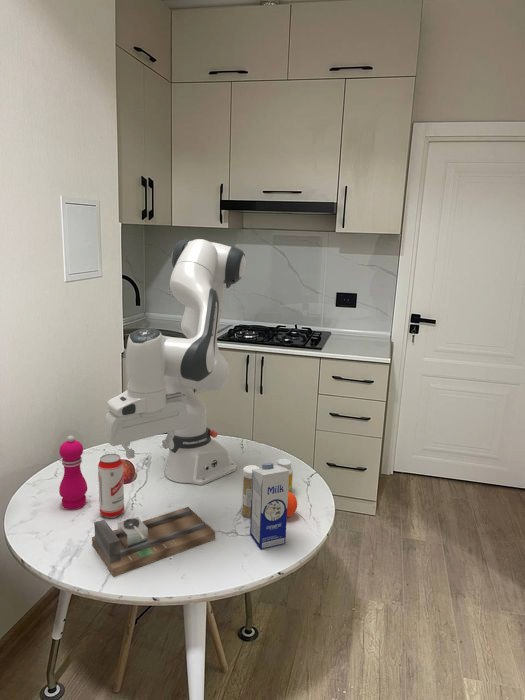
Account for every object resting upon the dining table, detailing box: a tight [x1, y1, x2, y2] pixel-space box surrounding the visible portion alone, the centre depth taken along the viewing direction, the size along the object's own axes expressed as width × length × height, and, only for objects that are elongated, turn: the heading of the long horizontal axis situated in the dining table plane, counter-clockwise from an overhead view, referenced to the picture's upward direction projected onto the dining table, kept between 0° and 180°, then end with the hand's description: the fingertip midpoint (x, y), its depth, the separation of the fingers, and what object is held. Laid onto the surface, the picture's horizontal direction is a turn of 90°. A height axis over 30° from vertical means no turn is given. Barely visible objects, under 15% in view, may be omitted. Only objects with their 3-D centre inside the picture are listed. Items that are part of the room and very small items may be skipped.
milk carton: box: [249, 462, 290, 550], centre depth 129 cm, size 7×7×20 cm
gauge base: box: [91, 506, 216, 578], centre depth 128 cm, size 26×14×7 cm, turn 126°
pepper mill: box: [58, 435, 88, 510], centre depth 142 cm, size 7×7×20 cm
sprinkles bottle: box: [241, 464, 260, 518], centre depth 141 cm, size 5×5×14 cm
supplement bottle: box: [276, 458, 294, 493], centre depth 154 cm, size 5×5×10 cm
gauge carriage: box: [117, 516, 148, 548], centre depth 123 cm, size 5×9×4 cm, turn 36°
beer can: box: [97, 453, 125, 519], centre depth 139 cm, size 6×6×16 cm
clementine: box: [287, 491, 298, 518], centre depth 141 cm, size 8×7×7 cm
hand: (149, 452), depth 127 cm, fingers open, 8 cm apart
